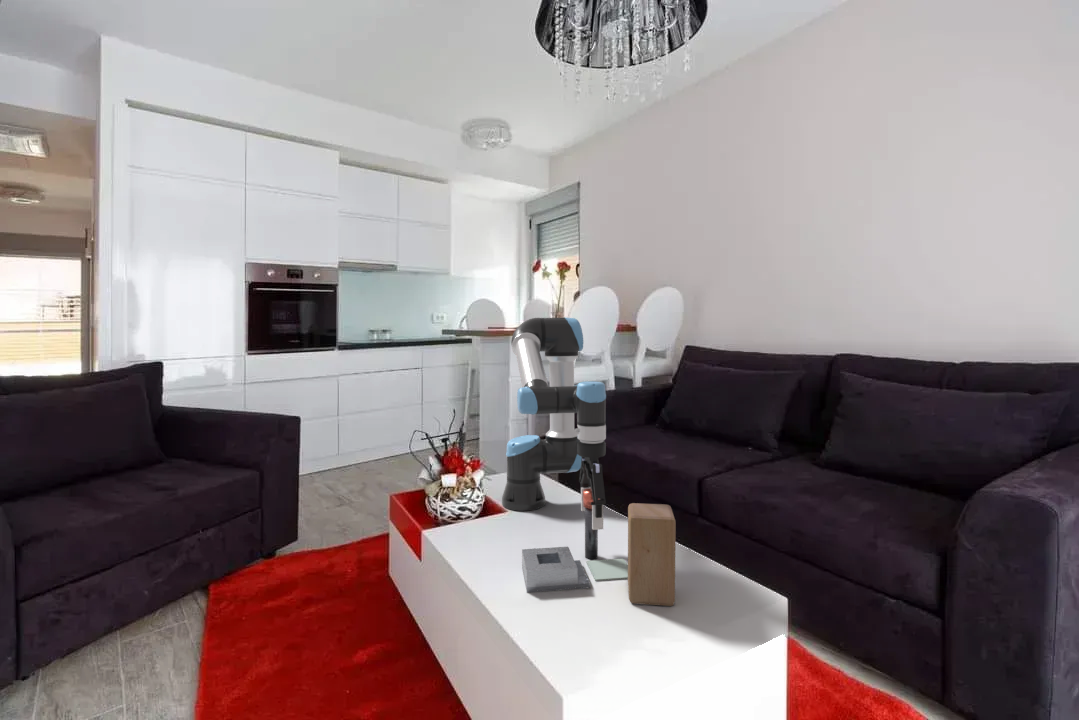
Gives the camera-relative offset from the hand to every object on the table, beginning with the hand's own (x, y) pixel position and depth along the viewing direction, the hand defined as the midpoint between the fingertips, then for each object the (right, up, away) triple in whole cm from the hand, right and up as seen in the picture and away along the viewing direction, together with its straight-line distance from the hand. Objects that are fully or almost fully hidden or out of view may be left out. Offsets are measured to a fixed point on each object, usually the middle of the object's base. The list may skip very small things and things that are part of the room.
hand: (591, 519), depth 137 cm
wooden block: (+12, -12, -19) cm, 25 cm away
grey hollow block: (-10, -11, -10) cm, 18 cm away
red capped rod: (0, -10, +1) cm, 10 cm away
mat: (+4, -11, -7) cm, 13 cm away
